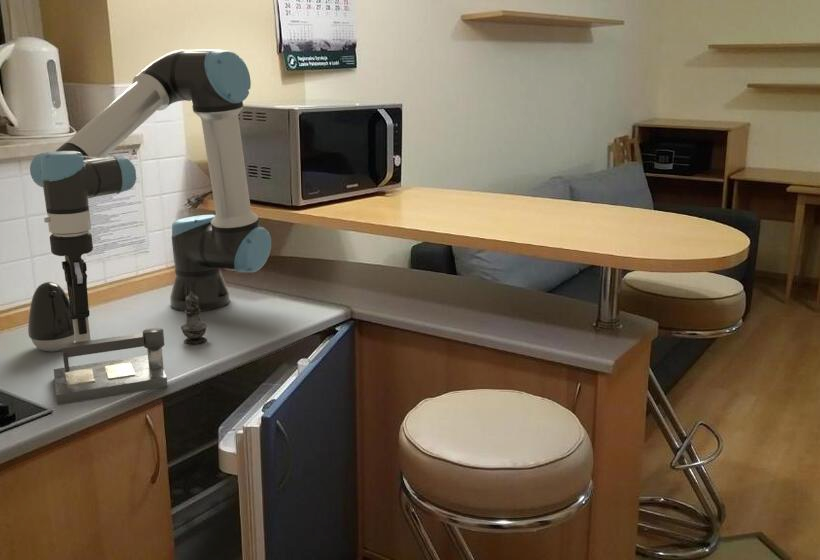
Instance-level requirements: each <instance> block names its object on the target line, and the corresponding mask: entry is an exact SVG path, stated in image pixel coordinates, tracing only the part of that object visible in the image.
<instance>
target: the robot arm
mask: <svg viewBox="0 0 820 560" xmlns="http://www.w3.org/2000/svg"><path fill="white" fill-rule="evenodd" d="M251 82H252V80H251V75H250V72H249V68H248V66H247V64H246V63H245V61H244V59H242V58H241V57H240V56H239V55H238V53H235V52H233V51H231V50H223V49H218V48H213V49H211V48H210V49H178V50H173V51H171V52H169V53H166V54H165V55H163V56H161V57H159V58H157V59H156V60H154V61H153V62H151V63H150V64H148V65H146V67H145V68H143V69H142V70H141V71H140V72H138V73H137V74H136V75H135V76H134V77H133V78H132V85H130V86H129V87H128V88H127V89H126V90H125V91H124V92H123V93H121V94H120V95H119V96H118V97H117V98H116V99H114V100H113V101H112V102H110V103H109V105H107V106H106V107H105V108H104V109H102V110H101V111H100V112H98V114H97V115H96V116H95V117H94V118H92V119H91V120H90V121H89V122H87V124H85V125H84V126H83V127H82V128H81V129H79V130H78V131H77V132H76V133H75V134H73V136H71V137H70V138H69V139H68V140H67V141H65V142H64V143H63V144H61V146H59V148H57V149H56V150H55V151H47V152H41V153H37V154H36V155H35V156H34V157H33V158H32V160H31V162H30V165H29V174H30V176H31V178H32V181H33V182H34V183H35V184H36V185H37V186H38V187H41V188H42V189H43V194H44V195H43V196H44V203H45V210H46V216H47V217H44V218H43V222H44V223H47V224H48V232H49V233H51V234H50V236H49V245H50V250H51V254H52V255H54V256H58V257H64V260H63V261H61V265H62V270H63V272H64V279H65V283H66V289H67V297H68V299H69V303H70V306H69V307H70V310H72V312H71V314H72V315H73V316H70V320H73V327H74V335H75V341H74V343H75V342H82V341H89V340H92V339H91V333H90V331H91V330H90V323H89V317H90V315H91V314H90V309H89V298H88V296H89V295H88V280H87V279H88V275H87V273H86V272H87V271H88V270H87V262H86V261H85V260H84V258H82V256H83V255H84V254H89V253H90V252H92V251H93V249H94V245H93V235H92V233H91V232H90V231H91V229H92V225H91V215H90V214H91V213H90V206H89V199H93V198H97V197H98V198H99V197H103V196H109V195H114V194H121V193H124V192H126V191H130V190H131V189H132V188H133V187H134V186H135V184H136V181H137V172H136V171H137V169H136V167H135V165H134V162H132V160H131V159H130V158H129V157H127V156H125V155H122V154H119V155H113V154H112V155H111V154H110V153H112V151H114V150H115V149H116V148H117V147H118V146H119V145H120V144H121V143H122V142H124V141H125V140H126V139H127V138H128V137H129V136H130V135H131V134H133V133H134V131H136V130H137V129H138V128H139V127H140V126H141V125H142V124H144V122H146V121H147V120H148V119H149V118H150V117H151V116H152V115H154V114H155V113H156V112H157V111H164V110H166V109H167V108H168V107H169V106H170V105H171V104H175V103H177V102H184V101H185V102H186V101H188V102H191V105H192V111H193V113H194V114H196V115H197V116H198V117H199V118H200V121H201V127H202V132H203V133H202V134H203V139H204V140H203V141H204V146H205V153H206V158H207V165H208V166H207V167H208V171H209V178H210V179H209V180H210V184H211V192H212V197H213V198H212V199H213V203H214V211H215V214H201V215H195V216H188V217H184V218H180V219H176V220H175V221H173V223H172V225H171V242H172V243H171V244H172V245H171V246H172V255H173V263H174V274H175V275H174V280H173V285H172V288H171V292H170V298H169V299H170V306H171V307H172V308H173V309H175V310H179V311H184V312H185V310H186V297H187V296H188V295H190V292H191V291H192V292H193V294H194V295H196V296H197V297H198V301H199V309H201V311H200V312H203V311H209V310H214V309H215V310H216V309H219V308H222V307H225V306H226V305H228V304H229V303H230V298H231V297H230V292H229V288H228V287H227V284H226V282H225V279H224V277H223V275H222V270H226V271H233V272H237V273H255V272H257V271H259V270H260V269H262V268H263V266H264V265H265V264H266V263H267V261H268V258H269V257H270V254H271V249H272V237H271V234H270V232H269V231H268V230H267V229H266V228H265V227H263V226H260V222H259V215H257V214H256V213H255V212H254V211H252V207H251V201H250V200H251V199H250V193H249V187H248V179H247V178H248V177H247V173H246V172H247V171H246V170H247V169H246V164H245V156H244V149H243V148H244V147H243V141H242V135H241V127H240V120H239V113H241V111H242V110H243V108H244V101H246V99H247V98H248V96H249V94H250V90H251V84H252V83H251ZM109 154H110V155H109Z"/></svg>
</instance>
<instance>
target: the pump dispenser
mask: <svg viewBox="0 0 820 560" xmlns="http://www.w3.org/2000/svg"><path fill="white" fill-rule="evenodd" d="M69 306H70V303H69V296H68V294H66V292H65V291H64V289H63V288H62V287H61V286H60V285H59V284H58V283H55V282H52V281H47V282H46V281H45V282H43V283H41V284H39V285H38V286H37V288H36V290H35V291H34V293H33V295H32V299H31V302H30V307H29V312H28V321H27V322H28V325H27V326H28V327H27V330H28V333H27V334H28V337H29V338H30V340H31V341H32V344H33V345H34V346H35V347H36V348H37V349H39V350H40V351H44V352H60V351H62V344H67V343H75V335H74V327H73V320H70V316H73V315H72V314H71V312H72V310H70V307H69Z"/></svg>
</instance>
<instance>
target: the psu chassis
mask: <svg viewBox="0 0 820 560" xmlns="http://www.w3.org/2000/svg"><path fill="white" fill-rule="evenodd" d="M146 350H147V354H145V355H139V356H133V357H126V358H120V359H119V358H118V359H113V360H108V361H107V360H106V361H100V362H93V363H87V364H80V365H79V364H78V365H75V366H74V365H73V366H72V365H71V366H69V370H70V372H65V368H64V367H60V368H53V374H54V375H53V376H54V384H55V392H56V401H57V402H56V403H57V406H59V405H65V404H71V403H78V402H83V401H88V400H96V399H101V398H107V397H108V398H109V397H113V396H119V395H125V394H131V393H132V394H133V393H137V392H143V391H149V390H156V389H160V388H168V386H169V385H168V377H167V374H166V372H165V369H164V368H165V367H164V359H163V358H164V357H163V346H162V347H160V348H155V349H148V348H146Z"/></svg>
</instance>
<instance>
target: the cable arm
mask: <svg viewBox="0 0 820 560" xmlns="http://www.w3.org/2000/svg"><path fill="white" fill-rule="evenodd" d="M164 346H165V333H164V329H163V328H160V327H151V328H146V329H144V330H143V331H142V332H141V333H134V334H133V333H132V334H126V335H119V336H110V337H105V338H97V339H91V340H89V341H82V342H75V341H74V343H67V344H62V350H61V351H62V358H63V359H62V360H63V365H64V367H63V368H65V372H70V370H69V367H70V365H69V358H73V357H79V356H80V357H81V356H86V355H87V356H88V355H93V354H101V353H107V352H115V351H121V350H128V349H129V350H130V349H134V348H141V347H142V348H143V347H144V348H145V349H147V348H148V349H155V348H160V347H162V348H163V347H164Z"/></svg>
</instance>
